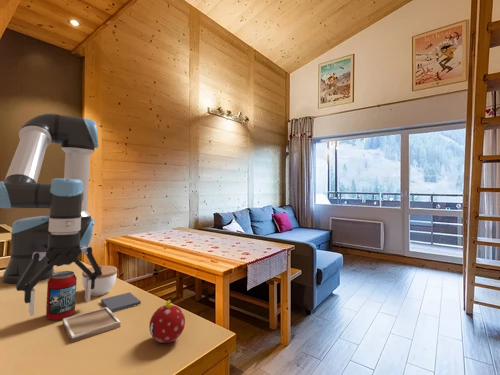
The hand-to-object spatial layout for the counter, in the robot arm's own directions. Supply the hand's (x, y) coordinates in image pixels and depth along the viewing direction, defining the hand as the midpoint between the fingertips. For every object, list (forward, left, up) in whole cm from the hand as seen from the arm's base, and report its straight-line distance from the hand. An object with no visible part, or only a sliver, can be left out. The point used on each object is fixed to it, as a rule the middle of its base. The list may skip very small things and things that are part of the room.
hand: (61, 306), depth 75 cm
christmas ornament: (+30, +17, -3) cm, 35 cm away
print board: (+11, +5, -3) cm, 12 cm away
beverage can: (0, 0, -3) cm, 3 cm away
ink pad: (+2, +16, -3) cm, 16 cm away
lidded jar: (-11, +13, -3) cm, 17 cm away
